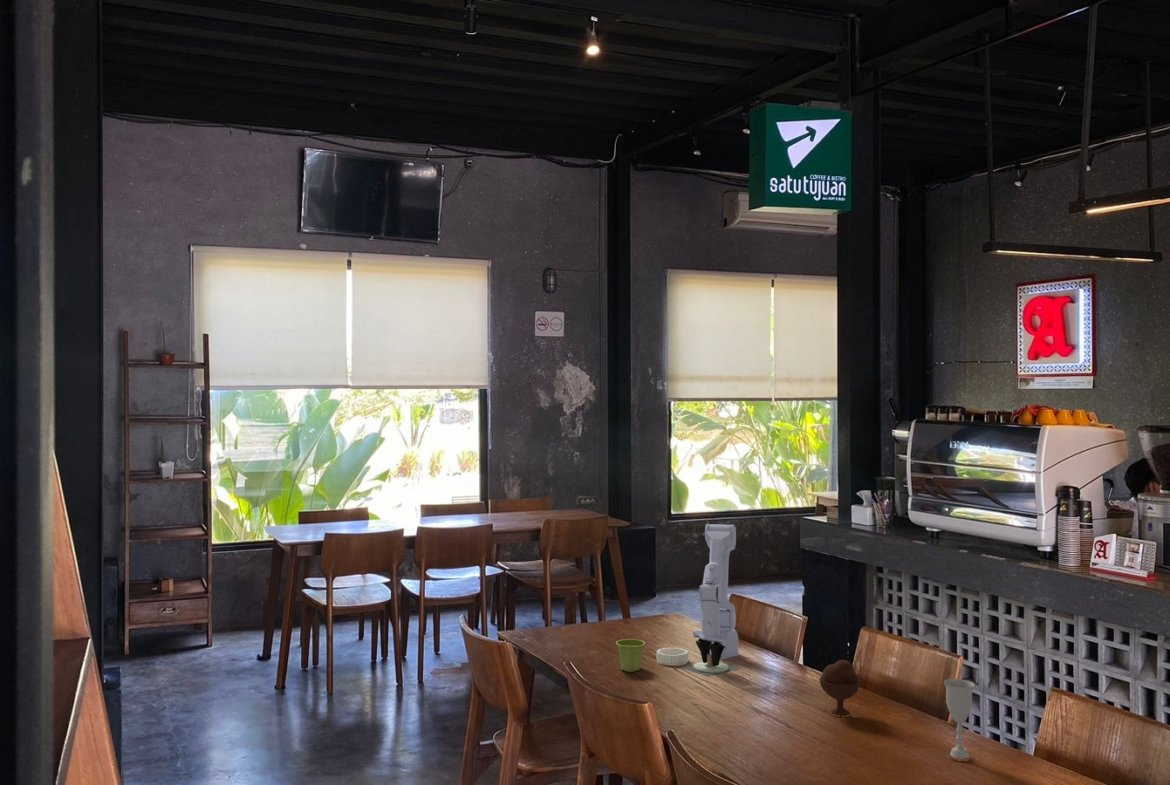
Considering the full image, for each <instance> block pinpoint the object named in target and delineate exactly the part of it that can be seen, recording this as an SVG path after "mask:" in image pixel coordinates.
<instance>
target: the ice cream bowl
mask: <svg viewBox="0 0 1170 785" xmlns="http://www.w3.org/2000/svg"><path fill="white" fill-rule="evenodd" d="M822 671H823V672H822V674H821V676H820V677H819V683H820V686H821V690H823V691H824V693H825V694H827V695H828V696H829V697H831V698H833V699H835V701H836V707H835V708H833V709H831V710H830V713H832V714H835V715H840V716H842V715H843V716H846V715H849V714H850V715H851V712H850V711H849V710H847V709H846V708H844V702H845V700H848V699H850V698H852V697H853V696H855V695H856V694H857V693H858V691H859V688H860V684H861V679H860V678H859V676H858V674H857V673H856V672H855V669H854V666H853V664H852V663H851V662H850V661H849V660H846V659H839V660H837V661H836V662H835V663H832V664H828V665H827V666H826V667H824V669H823V670H822Z"/></svg>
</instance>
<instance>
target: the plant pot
mask: <svg viewBox="0 0 1170 785" xmlns="http://www.w3.org/2000/svg"><path fill="white" fill-rule="evenodd" d="M615 644H616V646H617V649H618V655H619V663H620V664H619V666H620V670H621V671H624V672H627V673H629V672H630V673H634V672H636V671H639V670H641V665H642V664H641V663H642V658H643V657H642V656H643V650H644V647H645V645H646V642H645V640H641V639H636V638H626V639H625V638H623V639H619V640H617V641H615Z"/></svg>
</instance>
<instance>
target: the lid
mask: <svg viewBox="0 0 1170 785" xmlns="http://www.w3.org/2000/svg"><path fill="white" fill-rule="evenodd" d="M693 665H694V669H695V670H696V671H699V672H704V673H721V672H725V671H727V670H728V665H729V664H726V663H724V662H721V661H720V662H719V665H717V666H713V664H712V654H707V663H703V661H701V662H697V663H696V662H695V663H694V664H693ZM725 673H726V672H725ZM721 674H722V673H721Z"/></svg>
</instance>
